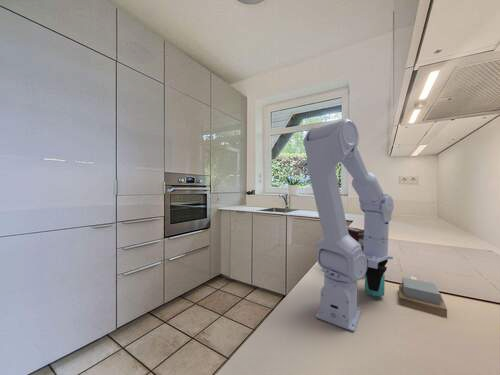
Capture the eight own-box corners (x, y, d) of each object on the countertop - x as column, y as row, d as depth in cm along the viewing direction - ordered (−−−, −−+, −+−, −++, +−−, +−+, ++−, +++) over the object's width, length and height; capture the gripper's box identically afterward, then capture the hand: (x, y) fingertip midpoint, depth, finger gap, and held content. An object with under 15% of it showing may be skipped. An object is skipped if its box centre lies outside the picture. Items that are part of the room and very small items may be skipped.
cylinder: (383, 298, 54) (384, 278, 54) (363, 292, 57) (364, 274, 57) (384, 291, 58) (385, 273, 58) (365, 286, 61) (366, 269, 61)
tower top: (440, 305, 51) (440, 294, 50) (404, 296, 54) (404, 286, 54) (434, 292, 56) (434, 283, 56) (401, 285, 60) (402, 277, 60)
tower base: (446, 320, 49) (447, 309, 49) (399, 306, 54) (399, 297, 54) (440, 303, 56) (440, 293, 56) (398, 292, 61) (399, 284, 61)
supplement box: (335, 270, 75) (336, 226, 75) (345, 268, 77) (346, 225, 77) (356, 280, 67) (357, 231, 67) (366, 278, 69) (368, 230, 69)
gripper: (392, 245, 49) (391, 303, 49) (393, 234, 61) (392, 281, 61) (359, 240, 53) (357, 293, 53) (366, 231, 65) (365, 274, 65)
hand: (374, 286), depth 57 cm, fingers closed on cylinder, 5 cm apart
